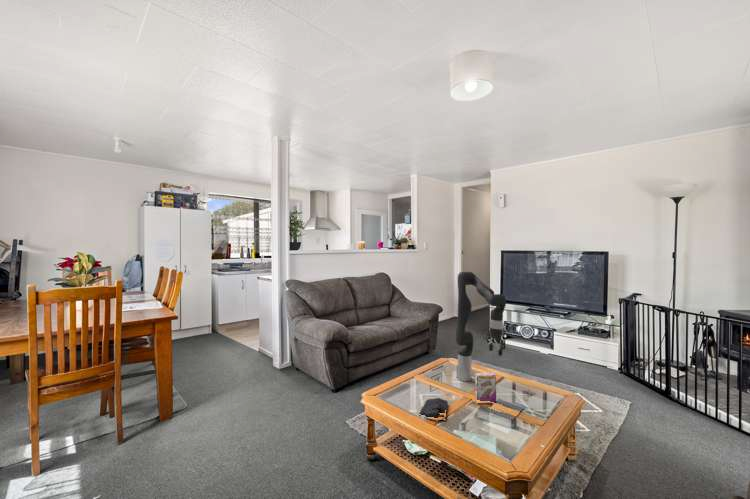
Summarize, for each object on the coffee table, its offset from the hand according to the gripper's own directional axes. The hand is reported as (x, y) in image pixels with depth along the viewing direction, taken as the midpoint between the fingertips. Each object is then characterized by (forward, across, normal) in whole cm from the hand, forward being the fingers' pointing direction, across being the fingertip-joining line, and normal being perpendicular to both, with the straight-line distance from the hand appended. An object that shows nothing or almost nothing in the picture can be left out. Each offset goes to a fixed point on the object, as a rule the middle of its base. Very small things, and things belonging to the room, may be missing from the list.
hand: (495, 353), depth 198 cm
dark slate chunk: (+29, +3, -42) cm, 51 cm away
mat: (+28, +14, -3) cm, 31 cm away
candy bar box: (+28, +3, -8) cm, 29 cm away
